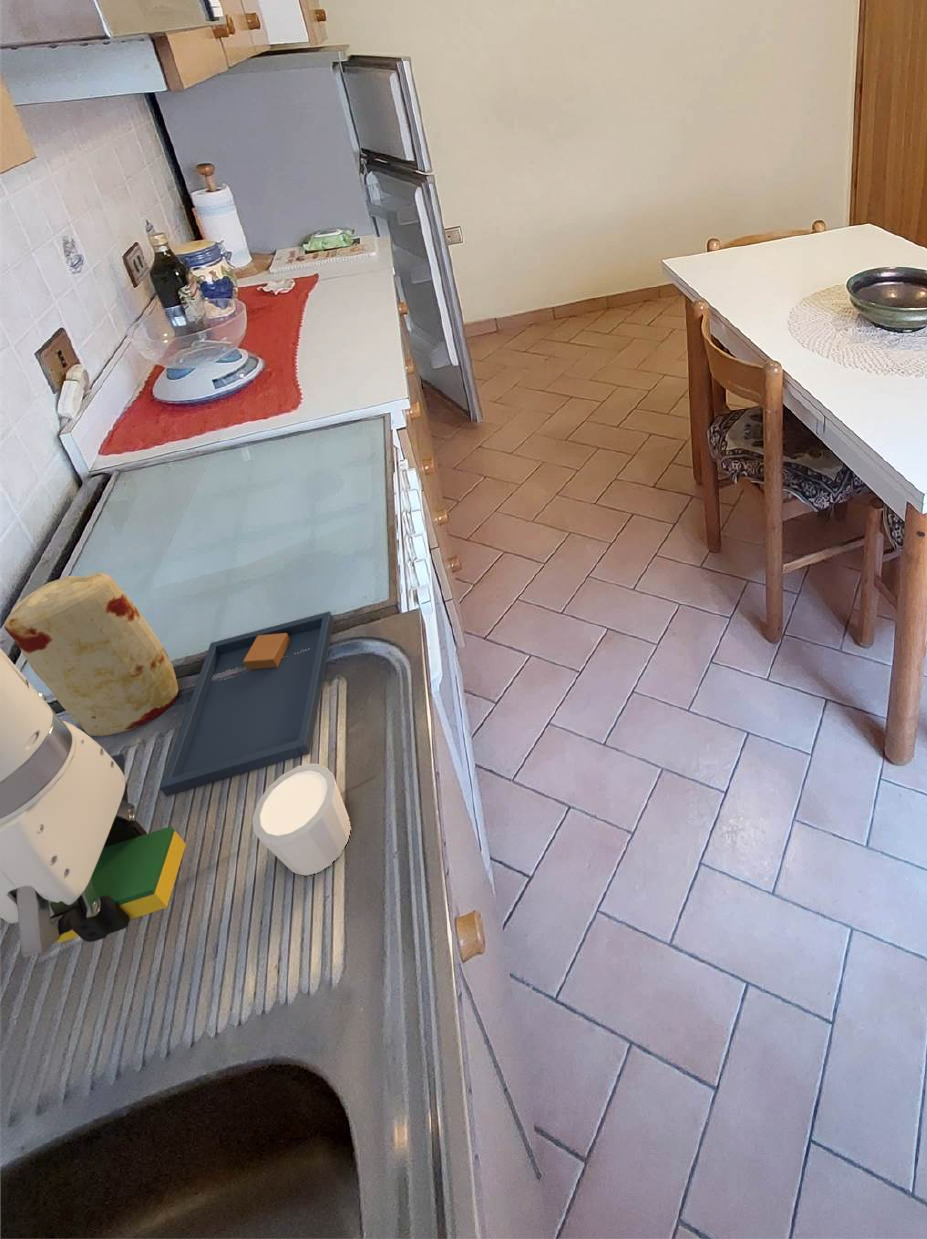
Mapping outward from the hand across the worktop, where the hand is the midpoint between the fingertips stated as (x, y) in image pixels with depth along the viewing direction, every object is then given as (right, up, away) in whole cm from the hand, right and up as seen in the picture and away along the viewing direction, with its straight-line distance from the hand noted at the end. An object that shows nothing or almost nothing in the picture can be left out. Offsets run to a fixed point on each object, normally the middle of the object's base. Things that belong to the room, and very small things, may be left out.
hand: (121, 889), depth 61 cm
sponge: (0, 0, 0) cm, 0 cm away
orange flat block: (-2, +8, +25) cm, 27 cm away
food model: (-14, +4, +21) cm, 25 cm away
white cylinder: (+13, -1, +7) cm, 15 cm away
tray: (0, +5, +21) cm, 21 cm away
